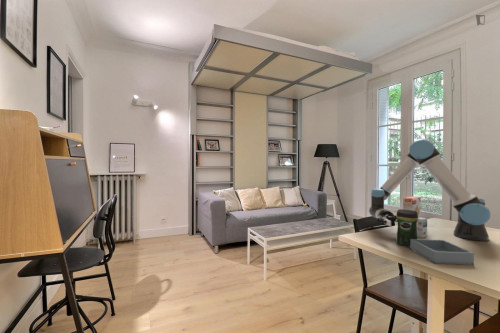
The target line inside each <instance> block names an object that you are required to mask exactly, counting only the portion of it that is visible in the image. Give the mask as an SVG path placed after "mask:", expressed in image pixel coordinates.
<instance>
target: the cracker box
mask: <svg viewBox="0 0 500 333" xmlns="http://www.w3.org/2000/svg"><path fill="white" fill-rule="evenodd" d="M402 209H404V210H412V211H417V213H418V217H421V197H420V196H414V195H413V196H412V195H411V196H405V197H403V199H402Z"/></svg>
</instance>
